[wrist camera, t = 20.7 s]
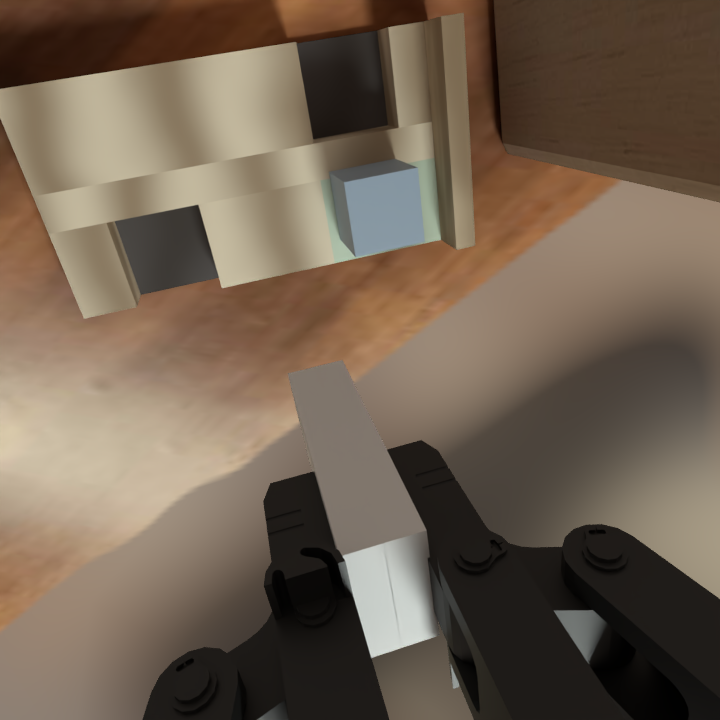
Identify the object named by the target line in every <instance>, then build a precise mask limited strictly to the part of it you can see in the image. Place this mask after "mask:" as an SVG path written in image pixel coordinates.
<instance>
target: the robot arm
mask: <svg viewBox="0 0 720 720" xmlns="http://www.w3.org/2000/svg"><path fill="white" fill-rule="evenodd" d="M288 376H289V380H290V385H291V389H292V393H293V397H294V401H295V405H296V410H297V414H298V418H299V422H300V426H301V430H302V435H303V439H304V443H305V447H306V451H307V455H308V459H309V463H310V466H311V470H312V472H310V473H307V474H303V475H299V476H296V477H292V478H289V479H285V480H281V481H278V482H274V483H270V486H269V489H268V491H267V493H266V496H265V499H264V510H265V516H266V523H267V532H268V539H269V546H270V553H271V560H272V562H271V564H270V566H269V568H268V569H267V571H266V574H265V581H264V588H265V590H266V594H267V597H268V600H269V603H270V606H271V609H272V613H271V615H270V617H269V619H268V621H267V622H266V623H265V624H264V625H263V627H262V628H261V629H260V630H259V631H258V632H257V633H256V634H255V635H253V636H252V637H251V638H249V639H248V640H247V641H245V642H244V643H242V644H241V645H239V646H238V647H236V648H235V649H233V650H232V651H230V652H228V653H226V652H224V651H223V650H221V649H218V648H206V647H204V648H201V649H197V650H193V651H190V652H187V653H186V654H184V655H183V656H181V657H179V658H178V659H177V660H175V661H174V662H172V663H171V664H170V665H169V667H168V668H167V669H166V670H165V671H164V672H163V673H162V674H161V675H160V677H159V678H158V680H157V682H156V684H155V686H154V688H153V690H152V692H151V695H150V698H149V701H148V705H147V707H146V711H145V714H144V717H143V720H389V717H388V714H387V710H386V707H385V704H384V700H383V696H382V693H381V690H380V686H379V683H378V679H377V676H376V672H375V669H374V665H373V662H372V659H371V658H372V657H375V656H378V655H381V654H384V653H387V652H390V651H393V650H396V649H399V648H402V647H405V646H408V645H411V644H414V643H417V642H420V641H423V640H426V639H429V638H432V637H435V636H438V635H439V628H438V622H439V624H440V627H441V629H442V631H443V634H444V636H445V638H446V640H447V647H448V656H449V664H450V673H451V679H452V684H453V689H454V688H457V687H459V685H460V687H461V690H462V692H463V694H464V697H465V699H466V702H467V704H468V706H469V709H470V711H471V713H472V716H473V718H474V720H720V599H719V598H718V597H716V596H715V595H713V594H712V593H711V592H709V591H708V590H706V589H705V588H704V587H702V586H701V585H699V584H698V583H697V582H695V581H694V580H693V579H691V578H690V577H688V576H687V575H686V574H684V573H683V572H682V571H680V570H679V569H677V568H676V567H675V566H673V565H672V564H670V563H669V562H668V561H666V560H665V559H664V558H662V557H661V556H659V555H658V554H657V553H655V552H654V551H652V550H651V549H650V548H648V547H647V546H646V545H644V544H643V543H641V542H640V541H639V540H637V539H636V538H635V537H633V536H631V535H630V534H628V533H626V532H624V531H622V530H620V529H618V528H615V527H610V526H607V525H602V524H601V525H599V524H597V525H585V526H582V527H579V528H576V529H573V530H572V531H571V532H570V533H569V534H568V535H567V536H566V537H565V540H564V543H563V546H562V547H540V548H531V547H520V546H516V545H513V544H509V543H508V542H507V541H506V540H505V539H504V538H503V537H502V536H500V535H497V534H496V533H493V532H491V531H489V529H488V528H487V527H486V526H485V524H484V523H483V521H482V520H481V518H480V516H479V515H478V513H477V512H476V510H475V509H474V507H473V505H472V504H471V502H470V501H469V499H468V498H467V496H466V494H465V493H464V491H463V490H462V488H461V486H460V485H459V483H458V482H457V481H456V480H455V477H454V475H453V474H452V472H451V471H450V469H448V467H447V464H446V463H445V461H444V460H443V458H442V456H441V455H440V453H439V452H438V451H437V450H436V449H434V448H433V447H431V446H430V445H428V444H426V443H425V442H423V441H417V442H413V443H409V444H406V445H403V446H399V447H395V448H391V449H388V450H387V449H386V447H385V445H384V443H383V441H382V439H381V437H380V435H379V433H378V431H377V429H376V427H375V425H374V423H373V421H372V419H371V417H370V415H369V413H368V411H367V409H366V407H365V405H364V403H363V401H362V399H361V397H360V395H359V393H358V391H357V389H356V387H355V384H354V382H353V380H352V378H351V376H350V374H349V372H348V370H347V368H346V366H345V364H344V362H343V360H341V361H337V362H333V363H329V364H325V365H321V366H317V367H313V368H309V369H305V370H301V371H296V372H292V373H288Z"/></svg>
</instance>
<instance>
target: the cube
mask: <svg viewBox="0 0 720 720" xmlns="http://www.w3.org/2000/svg"><path fill="white" fill-rule="evenodd" d="M329 175H330V181H331V187H332V193H333V199H334V205H335V211H336V217H337V223H338V229H339V235H340V240H341V241H342V242H343V243H344V244H345V246H346V247H347V248H348V249H349V250H350V251H351V252H352V254H353V255H354V256H355V257H359V256H364V255H368V254H373V253H377V252H382V251H386V250H391V249H395V248H400V247H404V246H409V245H413V244H418V243H422V242H425V238H424V228H423V217H422V206H421V196H420V185H419V174H418V167H415V166H413V165H410V164H407V163H405V162H402V161H400V160H397V159H391V160H386V161H381V162H376V163H371V164H366V165H361V166H356V167H350V168H345V169H340V170H335V171H330V172H329Z"/></svg>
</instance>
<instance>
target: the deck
mask: <svg viewBox="0 0 720 720" xmlns="http://www.w3.org/2000/svg"><path fill="white" fill-rule="evenodd" d="M0 119H1V121H2V123H3V126H4V128H5V131H6V133H7V135H8V138H9V140H10V143H11V145H12V147H13V150H14V152H15V155H16V157H17V159H18V162H19V164H20V167H21V169H22V171H23V174H24V176H25V178H26V181H27V183H28V186H29V188H30V190H31V193H32V195H33V198H34V200H35V202H36V205H37V207H38V210H39V212H40V214H41V217H42V219H43V222H44V224H45V226H46V229H47V231H48V234H49V236H50V238H51V241H52V243H53V245H54V248H55V250H56V253H57V255H58V257H59V260H60V262H61V265H62V267H63V269H64V272H65V274H66V277H67V279H68V281H69V284H70V286H71V289H72V291H73V293H74V296H75V298H76V301H77V303H78V305H79V308H80V310H81V312H82V315H83V317H84V319H85V318H89V317H94V316H98V315H103V314H107V313H112V312H116V311H121V310H126V309H130V308H135V307H137V305H138V302H139V299H140V296H141V294H146V293H151V292H155V291H160V290H164V289H169V288H174V287H178V286H183V285H187V284H192V283H196V282H201V281H206V280H210V279H215V278H219V280H220V283H221V287H222V288H225V287H229V286H234V285H238V284H243V283H247V282H252V281H256V280H261V279H266V278H270V277H275V276H279V275H284V274H288V273H293V272H297V271H302V270H306V269H311V268H315V267H320V266H324V265H329V264H333V263H338V262H342V261H347V260H351V259H356V258H360V257H365V256H369V255H374V254H378V253H383V252H387V251H392V250H396V249H401V248H406V247H410V246H415V245H419V244H424V243H428V242H433V241H437V240H443V241H444V242H446V243H447V244H449V245H450V246H452V247H453V248H455V249H456V250H458V249H462V248H467V247H471V246H475V231H474V211H473V191H472V171H471V151H470V131H469V111H468V90H467V70H466V50H465V30H464V13H460V14H454V15H447V16H441V17H438V18H434V19H431V20H427V21H424V22H417V23H411V24H405V25H399V26H392V27H387V28H384V29H381V30H378V31H372V32H366V33H359V34H353V35H347V36H341V37H334V38H328V39H322V40H316V41H309V42H303V43H297V44H296V42H292V43H286V44H279V45H273V46H267V47H261V48H254V49H248V50H242V51H236V52H229V53H223V54H217V55H211V56H204V57H198V58H192V59H185V60H179V61H173V62H167V63H160V64H154V65H148V66H142V67H135V68H129V69H123V70H116V71H110V72H104V73H98V74H91V75H85V76H79V77H73V78H66V79H60V80H54V81H47V82H41V83H35V84H29V85H22V86H16V87H10V88H4V89H0ZM391 159H397V160H400V161H402V162H405V163H407V164H410V165H413V166H415V167H418V174H419V185H420V196H421V206H422V217H423V228H424V238H425V242H422V243H418V244H413V245H409V246H404V247H400V248H395V249H391V250H386V251H382V252H377V253H373V254H368V255H364V256H359V257H355V256H354V255H353V254H352V252H351V251H350V250H349V249H348V248H347V247H346V246H345V244H344V243H343V242H342V241H341V240H340V235H339V229H338V223H337V217H336V211H335V205H334V199H333V193H332V187H331V181H330V175H329V172H330V171H335V170H340V169H345V168H350V167H356V166H361V165H366V164H371V163H376V162H381V161H386V160H391Z"/></svg>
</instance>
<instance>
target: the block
mask: <svg viewBox="0 0 720 720" xmlns="http://www.w3.org/2000/svg"><path fill="white" fill-rule="evenodd" d="M494 16H495V32H496V48H497V65H498V81H499V97H500V113H501V130H502V142H503V145H504V147H505V150H506V152H507V153H508V154H511V155H516V156H520V157H524V158H529V159H533V160H538V161H542V162H546V163H551V164H555V165H559V166H564V167H568V168H572V169H577V170H581V171H585V172H590V173H594V174H599V175H603V176H607V177H612V178H616V179H620V180H625V181H629V182H634V183H638V184H642V185H646V186H651V187H655V188H660V189H664V190H668V191H673V192H677V193H681V194H686V195H690V196H694V197H699V198H703V199H708V200H712V201H716V202H720V0H494Z"/></svg>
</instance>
